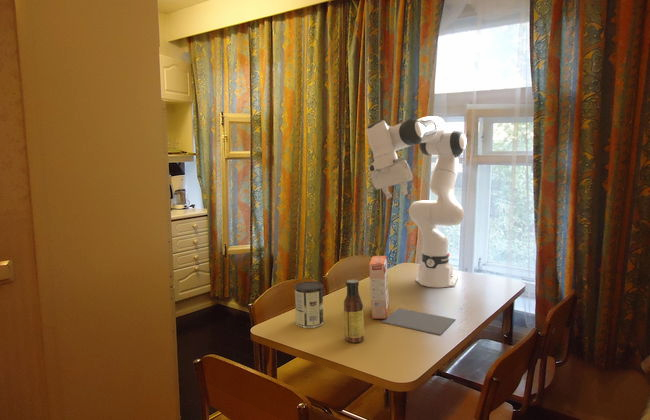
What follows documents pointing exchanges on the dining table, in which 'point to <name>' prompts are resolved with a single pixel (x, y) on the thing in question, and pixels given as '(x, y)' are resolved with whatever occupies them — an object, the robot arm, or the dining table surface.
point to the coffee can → (309, 304)
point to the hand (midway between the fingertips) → (397, 196)
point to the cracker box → (379, 287)
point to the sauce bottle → (353, 313)
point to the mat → (419, 321)
